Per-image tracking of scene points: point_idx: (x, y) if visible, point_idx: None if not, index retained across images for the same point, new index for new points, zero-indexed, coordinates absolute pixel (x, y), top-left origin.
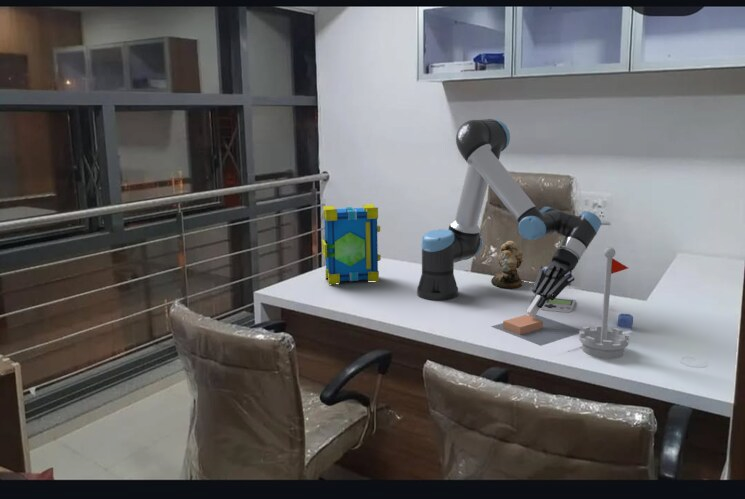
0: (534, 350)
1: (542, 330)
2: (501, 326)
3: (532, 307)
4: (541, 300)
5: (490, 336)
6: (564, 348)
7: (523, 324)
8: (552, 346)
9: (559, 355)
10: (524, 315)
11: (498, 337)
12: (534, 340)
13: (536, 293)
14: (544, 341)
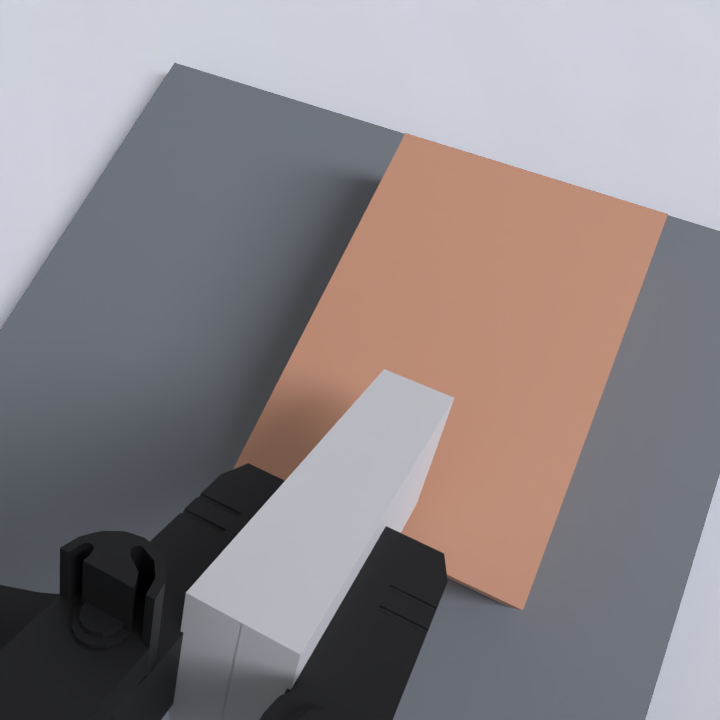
0: (211, 11)
1: (241, 412)
2: (685, 307)
3: (356, 413)
4: (189, 541)
5: (650, 76)
6: (6, 152)
7: (404, 225)
8: (98, 142)
9: (30, 23)
10: (525, 565)
11: (575, 91)
12: (246, 129)
13: (329, 713)
14: (162, 151)
